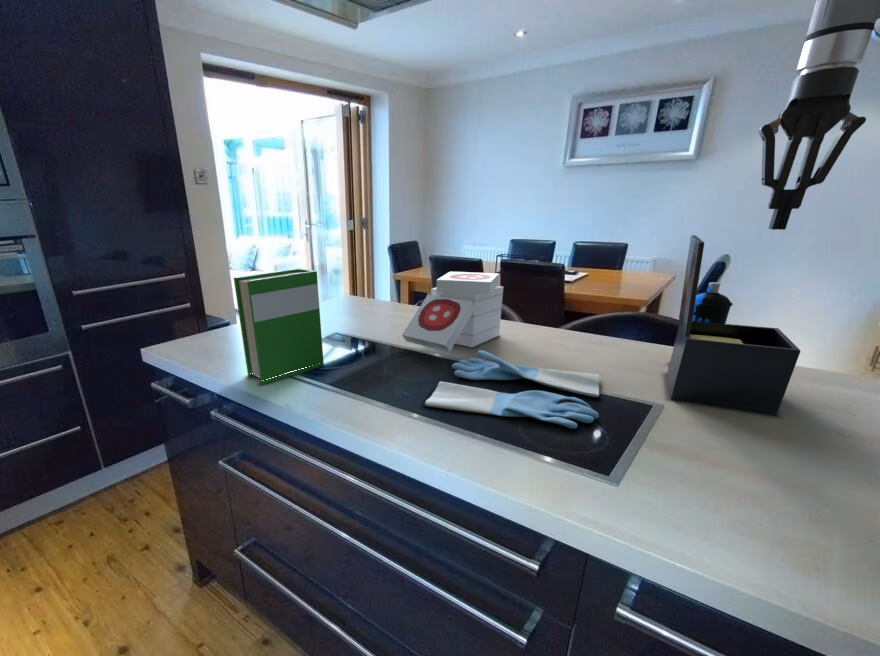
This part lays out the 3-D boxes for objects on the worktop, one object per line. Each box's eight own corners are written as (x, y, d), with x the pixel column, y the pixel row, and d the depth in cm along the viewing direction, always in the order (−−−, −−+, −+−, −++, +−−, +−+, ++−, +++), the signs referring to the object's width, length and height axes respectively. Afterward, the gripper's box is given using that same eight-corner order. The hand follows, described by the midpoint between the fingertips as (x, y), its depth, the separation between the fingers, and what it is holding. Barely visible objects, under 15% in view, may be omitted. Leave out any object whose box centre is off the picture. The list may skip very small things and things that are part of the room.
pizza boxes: (396, 346, 126) (396, 283, 119) (456, 324, 146) (459, 269, 139) (452, 361, 114) (455, 291, 107) (509, 335, 133) (515, 274, 126)
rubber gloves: (601, 436, 77) (608, 402, 74) (423, 406, 90) (423, 377, 87) (598, 380, 100) (603, 353, 97) (456, 363, 113) (457, 338, 110)
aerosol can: (695, 360, 109) (717, 279, 101) (721, 372, 102) (748, 285, 94) (663, 362, 109) (683, 280, 101) (687, 374, 101) (711, 287, 93)
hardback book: (262, 384, 103) (248, 281, 94) (248, 376, 108) (233, 277, 99) (323, 365, 114) (316, 271, 104) (307, 358, 119) (299, 268, 109)
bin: (758, 386, 94) (778, 328, 89) (776, 415, 82) (801, 350, 77) (666, 373, 102) (680, 320, 97) (670, 399, 90) (686, 339, 85)
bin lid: (695, 235, 90) (690, 235, 91) (704, 242, 78) (699, 242, 78) (683, 318, 97) (678, 317, 97) (689, 337, 84) (684, 336, 85)
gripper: (875, 69, 69) (820, 227, 78) (766, 82, 75) (726, 227, 85) (898, 58, 63) (835, 230, 72) (777, 73, 69) (733, 230, 79)
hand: (776, 228), depth 79 cm, fingers closed
